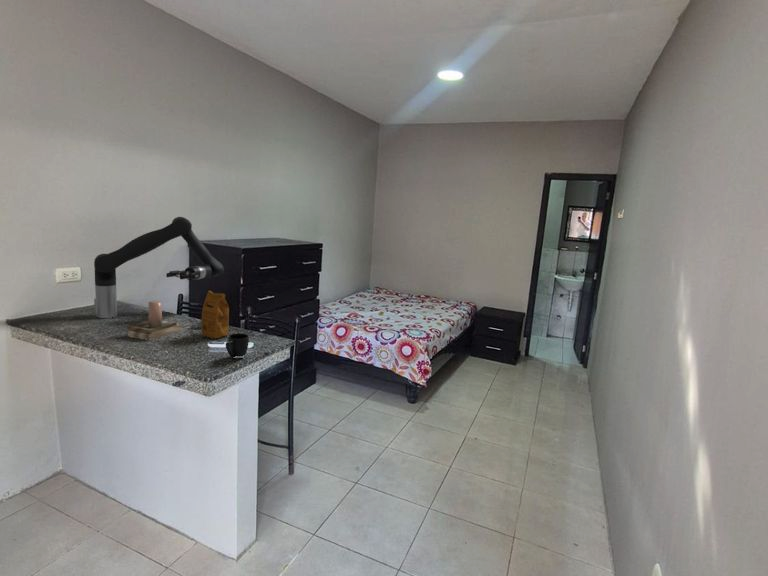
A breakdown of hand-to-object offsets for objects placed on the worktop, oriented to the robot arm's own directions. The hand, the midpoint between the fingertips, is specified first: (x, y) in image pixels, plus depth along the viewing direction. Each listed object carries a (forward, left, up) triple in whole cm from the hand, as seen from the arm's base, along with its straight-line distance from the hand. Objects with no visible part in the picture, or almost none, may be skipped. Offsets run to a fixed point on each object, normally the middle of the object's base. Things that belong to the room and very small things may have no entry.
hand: (173, 276), depth 217 cm
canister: (+6, -19, -22) cm, 29 cm away
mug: (+59, -30, -25) cm, 70 cm away
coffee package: (+32, -8, -25) cm, 41 cm away
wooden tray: (+7, -19, -25) cm, 32 cm away
